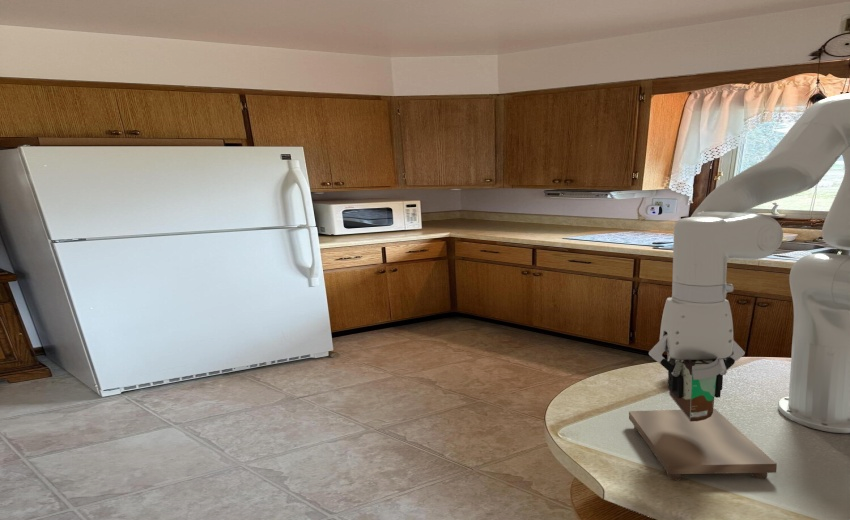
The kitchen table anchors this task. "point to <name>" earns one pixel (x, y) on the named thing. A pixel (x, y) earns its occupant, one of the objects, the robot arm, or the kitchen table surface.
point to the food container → (698, 388)
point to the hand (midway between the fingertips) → (694, 393)
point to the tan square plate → (699, 444)
